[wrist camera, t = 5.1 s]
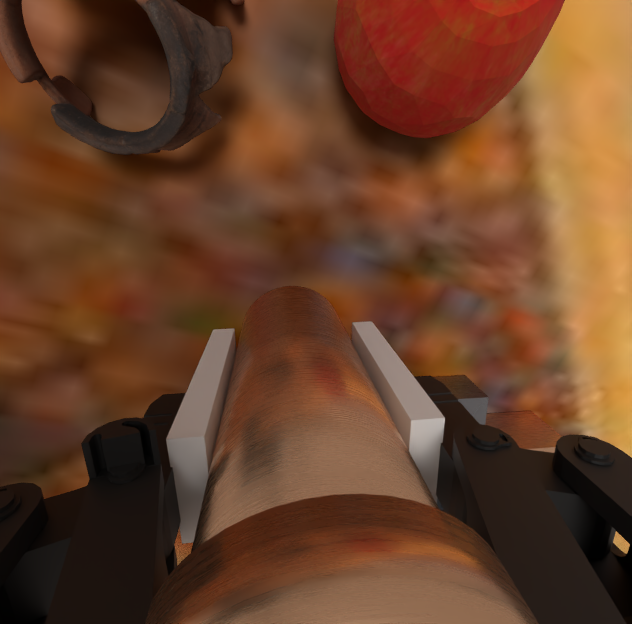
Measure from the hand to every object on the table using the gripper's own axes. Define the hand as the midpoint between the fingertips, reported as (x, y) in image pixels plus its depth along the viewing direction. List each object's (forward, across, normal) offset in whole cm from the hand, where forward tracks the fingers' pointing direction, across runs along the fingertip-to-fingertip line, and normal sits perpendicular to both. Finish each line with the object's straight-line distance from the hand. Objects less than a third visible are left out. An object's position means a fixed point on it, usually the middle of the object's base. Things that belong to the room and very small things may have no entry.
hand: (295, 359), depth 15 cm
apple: (+9, +6, +12) cm, 17 cm away
